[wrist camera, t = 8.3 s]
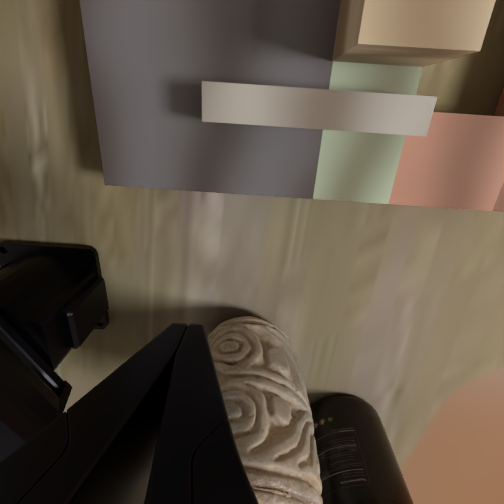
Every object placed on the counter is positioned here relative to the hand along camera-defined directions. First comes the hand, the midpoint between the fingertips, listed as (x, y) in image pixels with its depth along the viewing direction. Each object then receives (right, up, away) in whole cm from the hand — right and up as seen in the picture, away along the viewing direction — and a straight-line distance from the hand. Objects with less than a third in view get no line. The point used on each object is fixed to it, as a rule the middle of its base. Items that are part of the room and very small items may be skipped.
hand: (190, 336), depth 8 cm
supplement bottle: (+9, -12, +19) cm, 24 cm away
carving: (+2, -4, +15) cm, 16 cm away
